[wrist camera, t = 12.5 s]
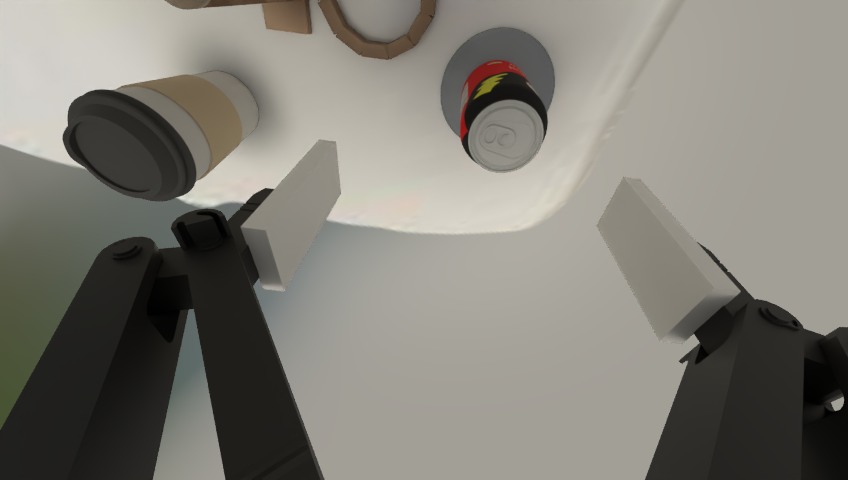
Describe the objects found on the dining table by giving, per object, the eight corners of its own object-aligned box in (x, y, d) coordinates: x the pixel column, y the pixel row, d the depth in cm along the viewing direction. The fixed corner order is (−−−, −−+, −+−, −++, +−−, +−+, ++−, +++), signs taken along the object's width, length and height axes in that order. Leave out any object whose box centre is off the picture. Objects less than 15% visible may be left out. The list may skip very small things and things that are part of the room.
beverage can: (512, 132, 33) (530, 188, 24) (454, 118, 33) (450, 170, 24) (537, 66, 29) (570, 103, 20) (471, 50, 29) (474, 80, 20)
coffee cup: (270, 80, 33) (164, 130, 21) (267, 155, 39) (182, 227, 27) (181, 44, 32) (17, 76, 20) (191, 127, 37) (67, 189, 26)
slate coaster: (449, 20, 28) (449, 20, 28) (571, 36, 28) (573, 37, 28) (434, 138, 35) (434, 140, 35) (532, 152, 35) (533, 154, 34)
